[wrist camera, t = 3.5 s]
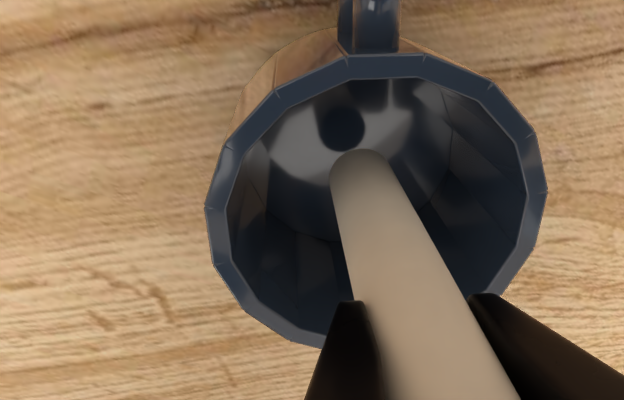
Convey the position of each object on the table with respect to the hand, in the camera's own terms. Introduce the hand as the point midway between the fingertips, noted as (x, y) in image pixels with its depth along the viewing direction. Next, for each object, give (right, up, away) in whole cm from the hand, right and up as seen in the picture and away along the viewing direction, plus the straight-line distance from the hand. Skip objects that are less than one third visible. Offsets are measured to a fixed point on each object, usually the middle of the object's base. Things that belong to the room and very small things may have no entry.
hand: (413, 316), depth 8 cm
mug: (-1, +5, +7) cm, 9 cm away
